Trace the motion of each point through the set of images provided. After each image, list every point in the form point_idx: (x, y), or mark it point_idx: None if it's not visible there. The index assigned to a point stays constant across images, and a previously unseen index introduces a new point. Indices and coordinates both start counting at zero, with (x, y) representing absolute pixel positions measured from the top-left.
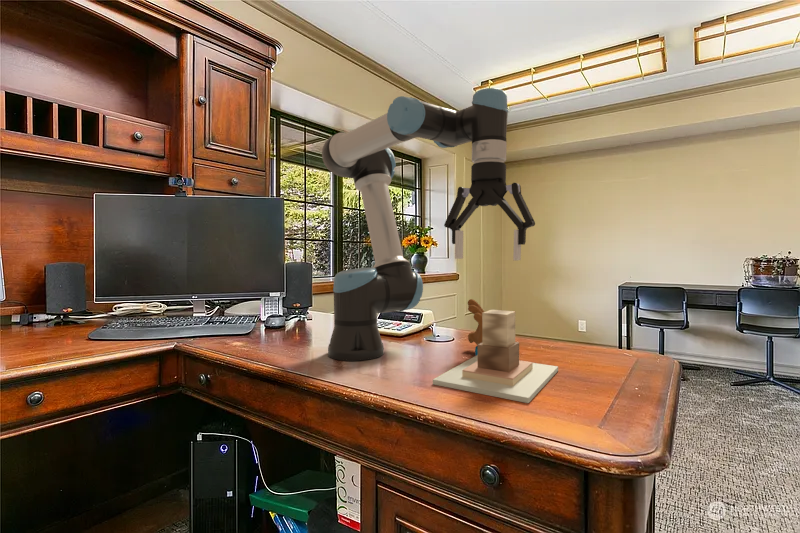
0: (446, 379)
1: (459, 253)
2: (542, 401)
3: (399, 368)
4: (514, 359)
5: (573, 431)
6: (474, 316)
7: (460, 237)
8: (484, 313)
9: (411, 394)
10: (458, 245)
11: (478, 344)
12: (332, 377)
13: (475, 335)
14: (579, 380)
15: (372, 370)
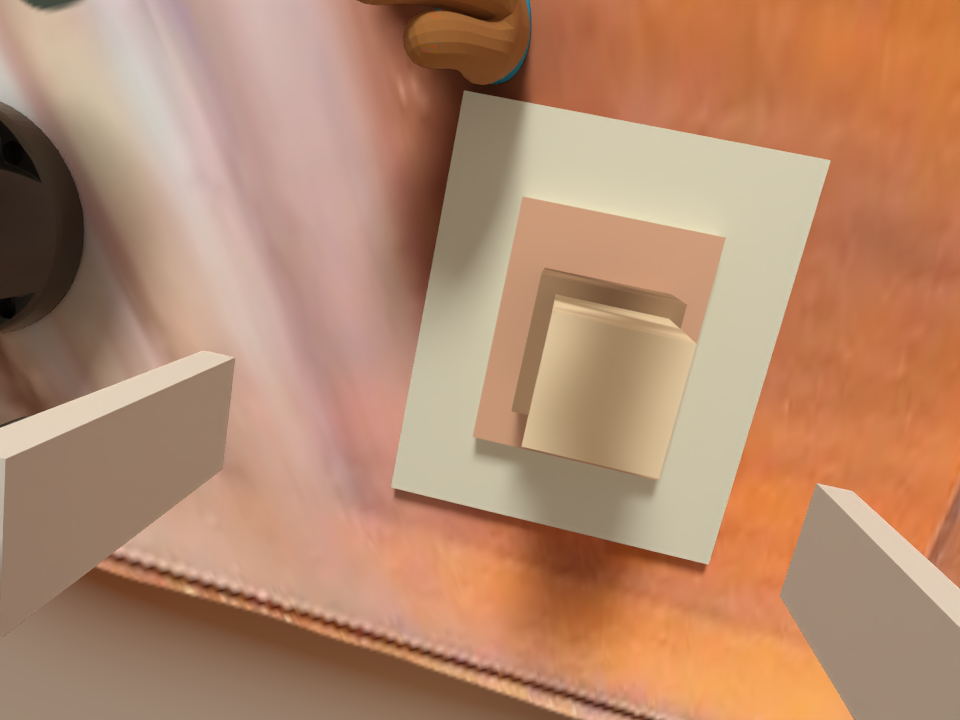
0: (433, 473)
1: (199, 455)
2: (746, 528)
3: (225, 350)
4: None
5: (815, 702)
6: (412, 59)
7: (83, 514)
8: (533, 448)
9: (367, 581)
10: (146, 519)
11: (514, 405)
12: None
13: None
14: (895, 270)
15: None
